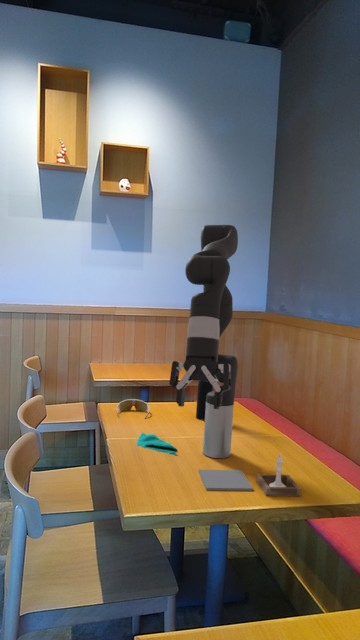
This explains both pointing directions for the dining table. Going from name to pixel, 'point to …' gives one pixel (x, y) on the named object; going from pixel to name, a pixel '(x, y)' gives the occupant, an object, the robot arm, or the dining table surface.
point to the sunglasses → (133, 402)
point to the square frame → (278, 491)
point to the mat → (225, 480)
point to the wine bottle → (202, 398)
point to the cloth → (155, 443)
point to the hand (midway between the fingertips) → (198, 407)
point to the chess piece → (278, 474)
